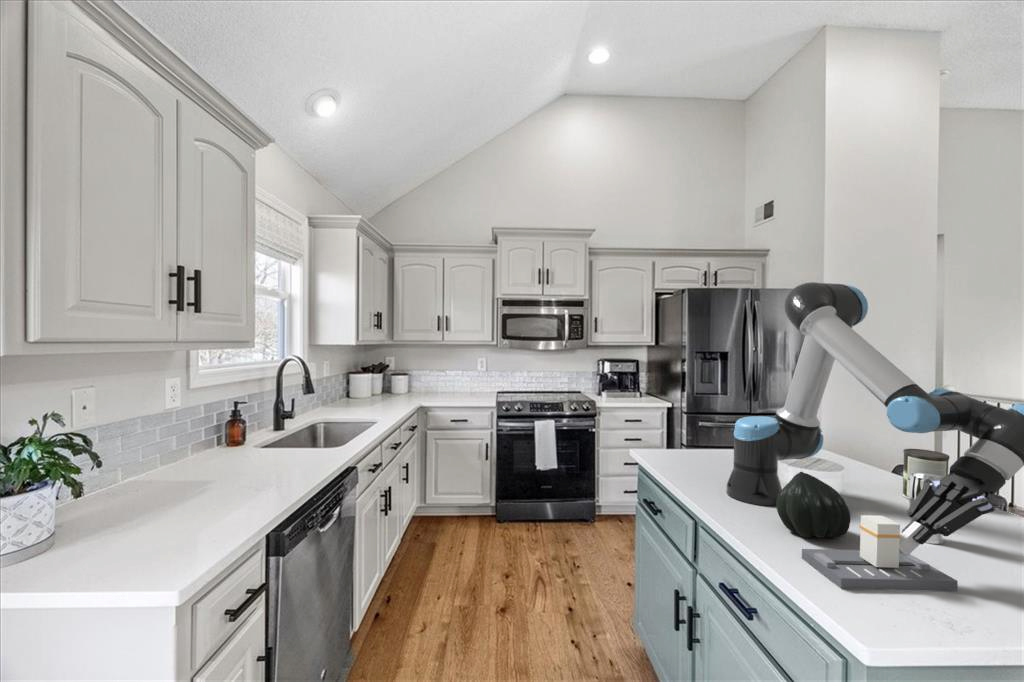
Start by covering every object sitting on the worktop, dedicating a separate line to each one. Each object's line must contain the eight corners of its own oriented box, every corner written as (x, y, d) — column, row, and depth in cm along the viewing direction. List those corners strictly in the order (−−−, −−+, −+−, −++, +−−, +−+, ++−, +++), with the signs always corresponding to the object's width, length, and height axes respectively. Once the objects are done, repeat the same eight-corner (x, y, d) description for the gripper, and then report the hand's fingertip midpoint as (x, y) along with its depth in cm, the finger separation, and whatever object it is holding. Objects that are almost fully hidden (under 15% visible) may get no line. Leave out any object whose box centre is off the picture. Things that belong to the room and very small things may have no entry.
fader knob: (881, 556, 96) (882, 515, 96) (899, 567, 91) (901, 524, 91) (858, 556, 96) (860, 515, 96) (876, 567, 91) (877, 524, 91)
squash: (865, 531, 101) (845, 467, 111) (788, 525, 105) (775, 464, 115) (845, 552, 111) (828, 492, 121) (776, 546, 115) (765, 488, 125)
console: (903, 560, 100) (904, 546, 99) (957, 591, 88) (957, 575, 87) (801, 558, 100) (802, 544, 100) (841, 588, 88) (841, 572, 88)
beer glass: (936, 535, 113) (938, 474, 113) (952, 547, 106) (955, 482, 106) (901, 530, 115) (903, 470, 115) (915, 542, 109) (917, 479, 108)
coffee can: (893, 492, 144) (895, 447, 144) (929, 494, 143) (930, 449, 143) (919, 504, 134) (920, 456, 134) (957, 506, 133) (959, 458, 133)
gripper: (1033, 492, 86) (942, 580, 86) (964, 471, 99) (885, 547, 99) (1006, 464, 86) (915, 552, 86) (940, 446, 99) (861, 523, 99)
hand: (899, 549), depth 93 cm, fingers closed
